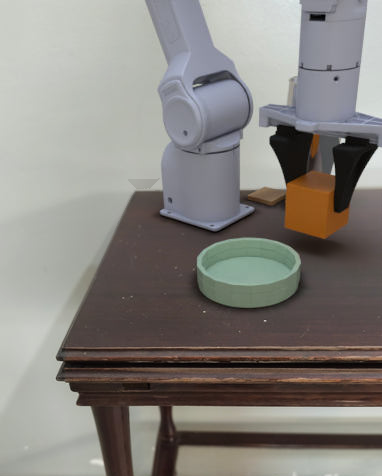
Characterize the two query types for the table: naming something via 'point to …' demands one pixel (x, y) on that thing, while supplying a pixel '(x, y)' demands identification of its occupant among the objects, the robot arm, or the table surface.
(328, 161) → the beer glass
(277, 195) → the cork coaster
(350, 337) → the table surface
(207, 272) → the celadon bowl
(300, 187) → the orange cube
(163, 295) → the table surface
